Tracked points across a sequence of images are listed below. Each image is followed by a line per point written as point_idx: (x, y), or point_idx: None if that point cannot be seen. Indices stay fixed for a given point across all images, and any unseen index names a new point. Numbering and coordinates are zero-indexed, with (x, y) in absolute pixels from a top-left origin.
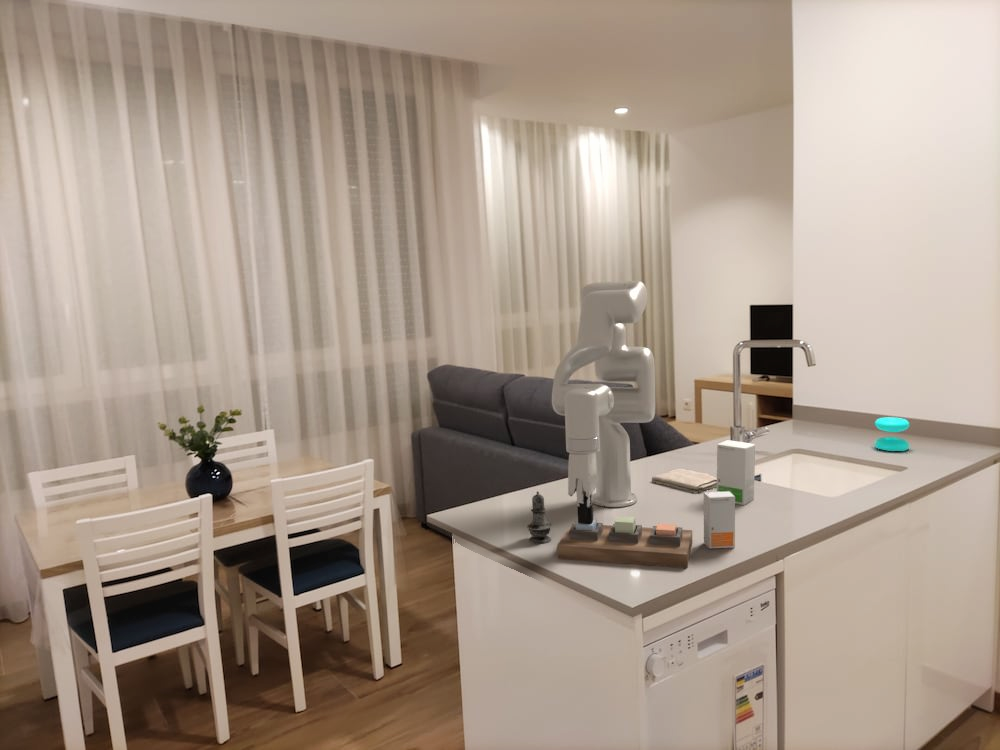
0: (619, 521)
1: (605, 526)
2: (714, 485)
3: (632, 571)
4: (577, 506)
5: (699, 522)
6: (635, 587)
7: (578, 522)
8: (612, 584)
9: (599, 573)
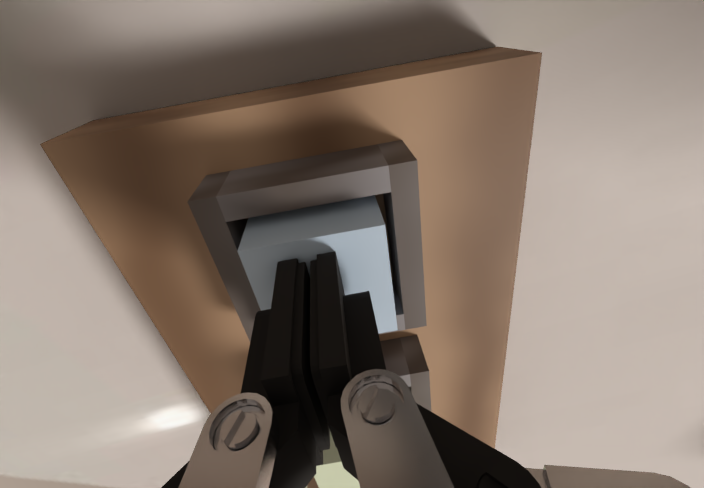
0: (321, 479)
1: (493, 277)
2: None
3: (180, 409)
4: (261, 380)
5: (653, 420)
6: (74, 446)
7: (278, 264)
8: (36, 402)
9: (85, 345)
